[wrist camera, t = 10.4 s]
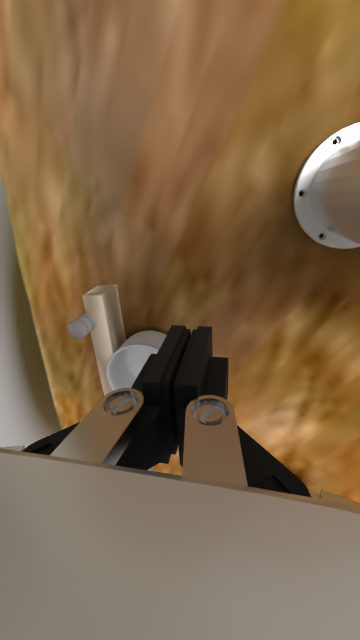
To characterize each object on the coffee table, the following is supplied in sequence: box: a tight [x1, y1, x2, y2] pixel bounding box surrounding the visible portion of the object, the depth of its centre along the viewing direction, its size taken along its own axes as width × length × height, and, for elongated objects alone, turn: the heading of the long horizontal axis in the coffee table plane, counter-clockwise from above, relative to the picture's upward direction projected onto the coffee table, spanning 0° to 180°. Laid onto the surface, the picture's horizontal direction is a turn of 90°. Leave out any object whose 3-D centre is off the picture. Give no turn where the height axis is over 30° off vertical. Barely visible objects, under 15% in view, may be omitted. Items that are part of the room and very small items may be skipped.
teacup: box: [107, 331, 167, 391], centre depth 41 cm, size 14×11×8 cm
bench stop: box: [68, 285, 126, 396], centre depth 43 cm, size 4×26×8 cm, turn 4°
